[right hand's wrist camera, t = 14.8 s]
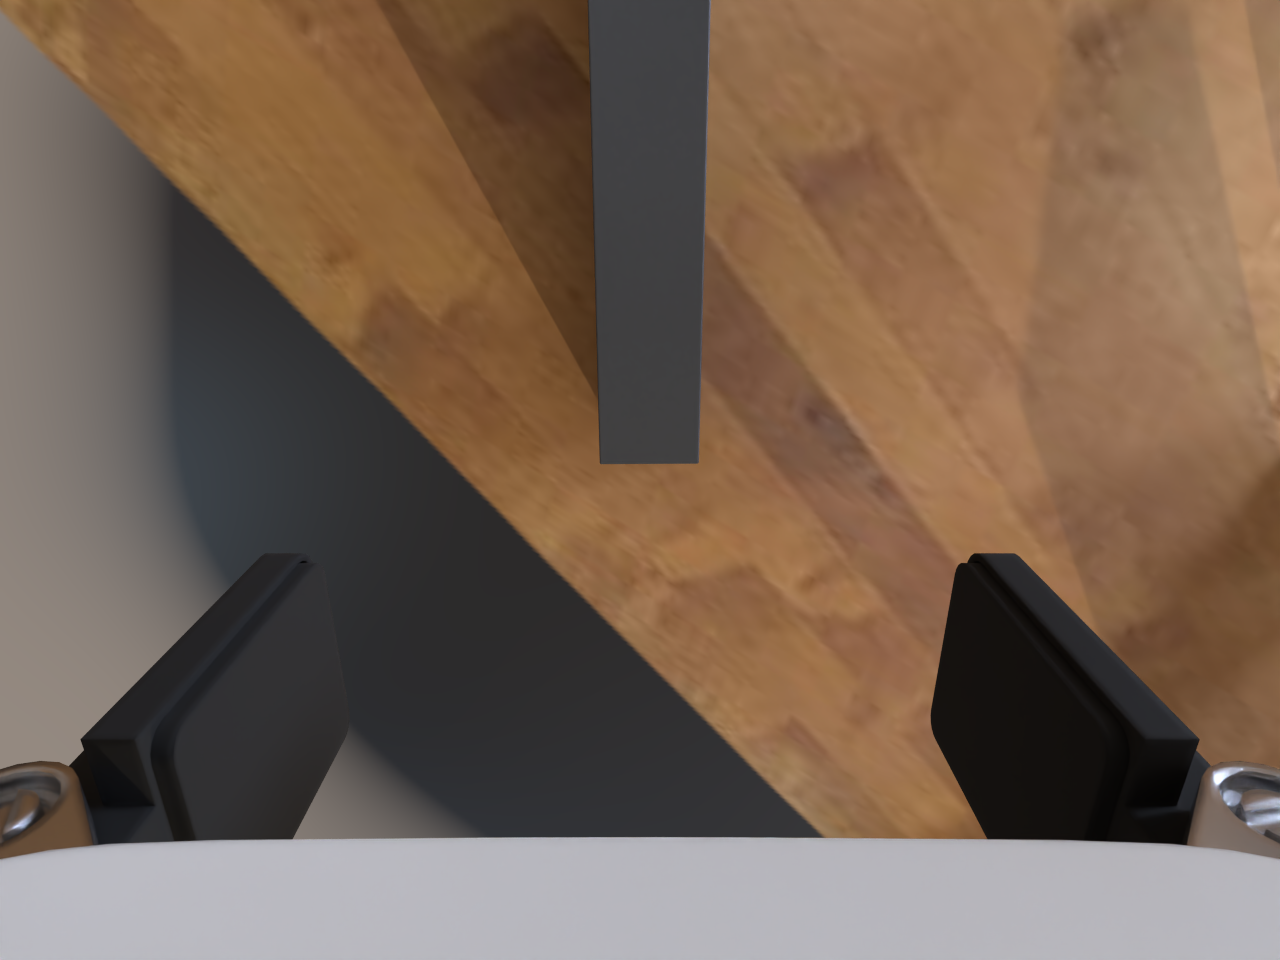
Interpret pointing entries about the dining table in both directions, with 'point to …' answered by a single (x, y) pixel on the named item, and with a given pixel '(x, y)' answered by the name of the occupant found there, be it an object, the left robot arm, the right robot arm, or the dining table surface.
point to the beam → (649, 223)
